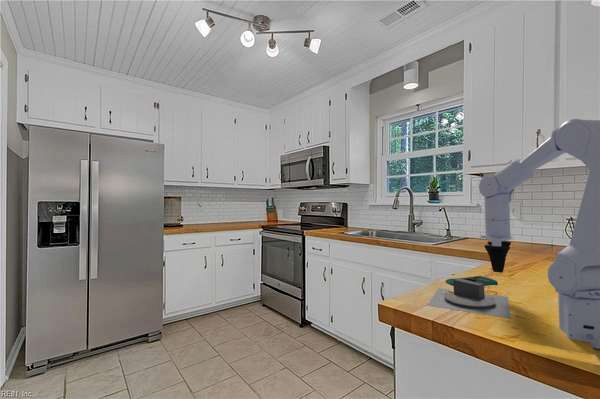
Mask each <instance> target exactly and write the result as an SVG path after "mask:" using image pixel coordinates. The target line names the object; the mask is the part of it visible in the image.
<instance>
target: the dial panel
mask: <svg viewBox="0 0 600 399" xmlns="http://www.w3.org/2000/svg"><path fill="white" fill-rule="evenodd" d="M449 290H450V289H447V288H439V287H438V288H437V289H436V291H435V292H434V294H433V296H432V297H431V299H430V300H429V301H428V303H427V306H428V307H434V308H435V307H436V308H441V309H446V310H447V309H448V310H453V311H454V310H455V311H460V312H467V313H473V314H479V315H485V316H492V317H498V318H503V319H510V320H511V319H512V318H511V310H510V301H509V296H503V295H497V294H495V295H494V294H487V293H486V294H487V295H490V296H492V297H493V298H494V299H495V305H494V306H492V307H488V308H472V307H465V306H460V305H456V304H453V303H450V302H448V301H447V300H445V298H444V293H445V292H447V291H449Z"/></svg>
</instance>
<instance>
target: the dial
mask: <svg viewBox="0 0 600 399" xmlns="http://www.w3.org/2000/svg"><path fill="white" fill-rule="evenodd" d="M459 278H460V277H458V279H456V278H453V279H454V280H453V282H454V286H453V289H449V291H447V292H445V293H444V298H445V300H447V301H448V302H450V303H453V304H456V305H460V306H465V307H472V308H488V307H492V306H494V305H495V299H494V298H493V297H492V296H490V295H491V294H489V295H487V293H485V285H484V284H482V283H478V282H473V281H468V280H464V279H459Z"/></svg>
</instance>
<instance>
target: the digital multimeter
mask: <svg viewBox="0 0 600 399" xmlns="http://www.w3.org/2000/svg"><path fill="white" fill-rule="evenodd" d="M458 278H459V279H464V280H468V281H473V282H478V283H482V284H484V286H489V285H491V286H499V285H498V281H497V280H495V279H493V278H490V277H487V276H486V277H485V276H483V275H477V276H467V277H458ZM458 278H448V279H446V280H445V283H447V284H448V285H451V286H453V287H454V282H453V280H454V279H458Z"/></svg>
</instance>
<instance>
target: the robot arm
mask: <svg viewBox="0 0 600 399" xmlns="http://www.w3.org/2000/svg"><path fill="white" fill-rule="evenodd" d="M564 154H568V155H570V156H572V157H574V158H575V159H577V160H579V161H581V162H582V163H583V165H585V166H586V168H588V170H589V172H588V177H587V180H586V184H585V187H584V191H583V195H582V197H581V198H582V199H581V201H580V206H579V209H578V212H577V213H578V214H577V216H576V218H575V219H576V220H575V223H574V227H573V231H572V235H571V237H570V241H569V244H568V246H566V247H564V248H563V249H562V250H560V251H559V252H558V253H556V257H555V259H554V261H553V262H552V263H551V264H550V265H549V266H548V270H547V279H548V281H549V284H551V286H552V287H553V288H554V289H555V292H556V293H558V295H557V296H558V297H557V298H558V301H557V302H558V326H559V327H558V328H559V330H560V331H562V332H563V333H564V334H565V335H566V337H567V339H569V340H574V341H580V342H584V343H585V342H586V343H589V344H590V345H591V347H592V348H593V349H598V350H600V120H599V119H596V120H595V119H580V118H573V119H569V120H566V121H565V122H563V123H561V125H559V127H557V128H555V129H553V130H552V132H551V135H550V137H549V138H548V139H547V140H545V141H544V142H543V143H541V144H540V145H538V147H537V148H535V149H534V150H533V151H531V153H529V154H528V155H527V156H526V157H525V158H523V159H520V158H519V159H511V160H509V161H508V162H507V163H508V164H507V165H506V166H504V167H503V168H501V169H499V170H497V171H496V172H495V174H494V175H493V174H492V175H485V176H483V177H482V179H481V180H480V182H479V184H478V188H479V189H478V190H479V194H481V196H482V197H484V223H485V226H484V227H485V229H484V230H485V234H480V238H481V239H486V240H488V241H486V242H487V244H484V245H483V246H484V248H485V250H486V252H487V254H488V256H489V260H490V263H491V269H492V272H493V273H504V269H505V265H506V260H507V255H508V253H509V251H510V249H511V244H512V242H511V241H510V240H512V235H511V212H510V211H511V210H510V209H511V207H510V203H511V202H512V196H513V194H514V192H515V189H516V188H517V187H519V186H521V185H522V184H524V183H525V182H527V181H529V180H530V179H531V178H533V177H534V175H535V170H537V169H539V168H540V167H542V166H544V165H546V164H548V163H550V162H551V161H553V160H554V159H556V158H558V157H560V156H562V155H564Z"/></svg>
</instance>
